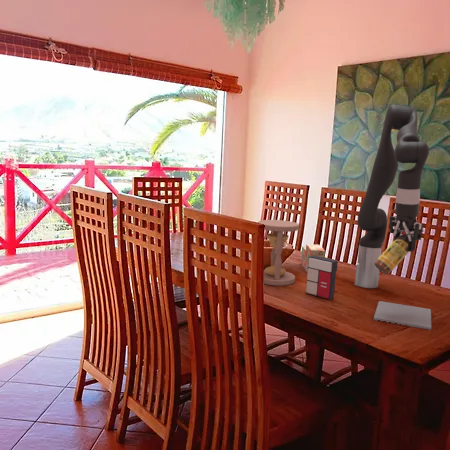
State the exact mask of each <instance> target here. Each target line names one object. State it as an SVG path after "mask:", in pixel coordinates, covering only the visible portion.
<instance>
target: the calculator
mask: <svg viewBox="0 0 450 450" xmlns="http://www.w3.org/2000/svg"><path fill="white" fill-rule="evenodd" d="M338 262H339V261H338V260H337V259H333V258H328V257H325V256H324V257H320V256H315V255H313V256H309V258H308V271H306V285H305V293H306V294H308V295H311V296H315V297H318V298H322V299H326V300H331V299H334V298H335V288H336V276H337V271H338Z"/></svg>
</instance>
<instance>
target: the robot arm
mask: <svg viewBox="0 0 450 450" xmlns="http://www.w3.org/2000/svg"><path fill="white" fill-rule="evenodd" d="M392 130H394V131H395V130H396V131H398V132H396V133H397V134H396V142H397V144H396V146H395V148H394V146H393V142H392V141H393V140H392ZM420 140H421V139H420V137H419V134H418V112H417V110H416V109H415V108H414V107H411V106H408V105H407V106H406V105H399V104H390V105H389V106H388V108H387V110H386V113H385V117H384V121H383V126H382V131H381V136H380V140H379V146H378V149H377V152H376V156H375V158H374V163H373V166H372V170H371V174H370V177H369V178H370V179H369V181H368V186H367V189H366V192H365V195H364V198H363V201H362V204H361V206H360V209H359V212H358V215H357V225H358V228H359V229H360V230H361V231H366V233H365V234H364V235H363V236H361V237H360V239H359V242H358V243H359V244H358V253H357V254H358V255H357V261H356V266H355V278H354V286H356V287H360V288H365V289H377V288H378V287H379V278H380V270H379V269H378V268H377V267H376V266H375V265H374V263H375V262H376V261H377V259H378V258H379V257H380V256H381V255H382V249H383V244H384V241H385V239H386V233H387V225H388V215H387V213H386V211H385V210H384V209H383V208H379V204H380V203H381V200H382V198H383V197H384V195H385V194H386V193H387V191H388V190H389V189H390V187H391V186H392V185H393V183H394V181H395V179H396V175H397V172H398V167H399V163H401V164H415V165H414V166H413V167H412V168H410V169H409V168H408V169H405V170H401V171H399V173H398V177H397V189H396V194H395V195H396V196H395V207H394V214H395V215H393V216H390V217H389V233H390V234H392V235H393V241H395V240H396V239H397V238H398V236H400V235H403V232H405V233H406V235H408V239H409V241H408V251H409V252H408V253H412V252H415V250H416V242H417V241H421V240H422V235H423V232H422V230H423V231H424V223H423V222H421V223H420V222H419V221H418V222H417V217H418V216H419V213H420V201H421V199H420V198H421V180H422V174H423V170H424V167H425V165H426V162H427V159H428V156H429V153H430V147H429V146H428V144H427V143H426V142H424V141H420ZM411 230H412V232H410V231H411ZM411 234H412V236H413V237H412V236H411ZM417 234H418V237H417Z"/></svg>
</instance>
